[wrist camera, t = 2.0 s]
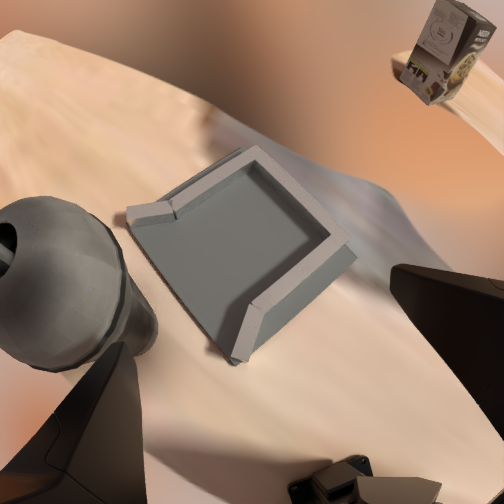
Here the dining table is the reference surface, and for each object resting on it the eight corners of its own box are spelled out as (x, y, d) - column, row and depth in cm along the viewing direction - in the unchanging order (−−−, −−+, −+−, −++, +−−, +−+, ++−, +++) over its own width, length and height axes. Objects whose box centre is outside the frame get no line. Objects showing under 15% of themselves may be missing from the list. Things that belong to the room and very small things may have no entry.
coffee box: (428, 107, 34) (478, 21, 19) (397, 79, 36) (436, -8, 21) (454, 99, 36) (498, 28, 21) (427, 73, 38) (463, 1, 23)
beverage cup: (149, 393, 20) (-110, 417, 1) (74, 343, 21) (-153, 244, 2) (193, 308, 22) (74, 65, 4) (116, 265, 23) (-40, 61, 5)
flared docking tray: (240, 368, 21) (240, 368, 19) (127, 222, 25) (120, 211, 23) (358, 261, 25) (367, 253, 23) (242, 146, 28) (243, 133, 27)
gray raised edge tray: (235, 366, 21) (235, 366, 21) (127, 225, 25) (125, 223, 24) (356, 259, 25) (358, 257, 24) (244, 148, 28) (244, 145, 28)
